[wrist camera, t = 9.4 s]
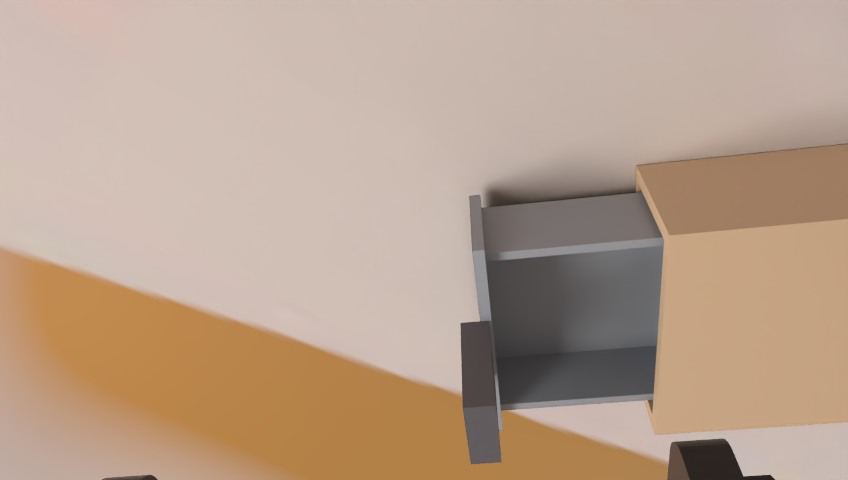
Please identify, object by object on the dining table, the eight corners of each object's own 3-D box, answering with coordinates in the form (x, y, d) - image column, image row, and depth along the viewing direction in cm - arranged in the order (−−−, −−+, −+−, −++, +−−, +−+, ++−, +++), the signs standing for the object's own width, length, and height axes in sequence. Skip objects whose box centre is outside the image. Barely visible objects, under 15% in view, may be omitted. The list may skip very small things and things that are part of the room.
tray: (702, 172, 38) (786, 306, 29) (684, 351, 46) (747, 505, 36) (450, 197, 40) (451, 333, 30) (472, 368, 47) (479, 520, 37)
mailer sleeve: (883, 140, 38) (962, 208, 32) (834, 335, 46) (890, 419, 40) (636, 165, 39) (669, 235, 33) (629, 351, 47) (655, 435, 41)
